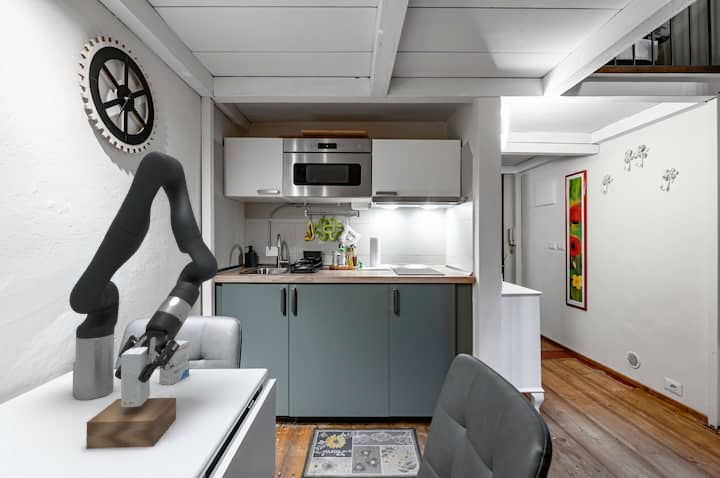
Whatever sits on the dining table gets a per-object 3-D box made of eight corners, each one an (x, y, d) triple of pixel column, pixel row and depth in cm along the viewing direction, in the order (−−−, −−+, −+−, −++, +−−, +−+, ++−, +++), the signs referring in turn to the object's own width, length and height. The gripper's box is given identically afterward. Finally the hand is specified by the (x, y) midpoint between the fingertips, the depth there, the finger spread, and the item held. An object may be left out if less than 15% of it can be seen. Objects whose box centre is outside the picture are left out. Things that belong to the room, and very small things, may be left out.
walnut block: (86, 450, 80) (86, 422, 80) (117, 422, 92) (117, 398, 92) (153, 447, 81) (154, 420, 81) (175, 421, 93) (176, 397, 93)
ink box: (177, 374, 125) (177, 339, 125) (190, 375, 124) (190, 340, 124) (158, 384, 116) (159, 346, 116) (172, 385, 115) (173, 347, 115)
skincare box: (141, 406, 84) (142, 353, 84) (119, 408, 83) (120, 354, 83) (150, 395, 90) (151, 346, 90) (130, 397, 89) (130, 347, 89)
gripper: (139, 308, 96) (94, 368, 85) (185, 311, 92) (144, 375, 81) (155, 324, 101) (115, 383, 90) (199, 328, 97) (163, 390, 86)
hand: (129, 379), depth 85 cm, fingers closed on skincare box, 6 cm apart
